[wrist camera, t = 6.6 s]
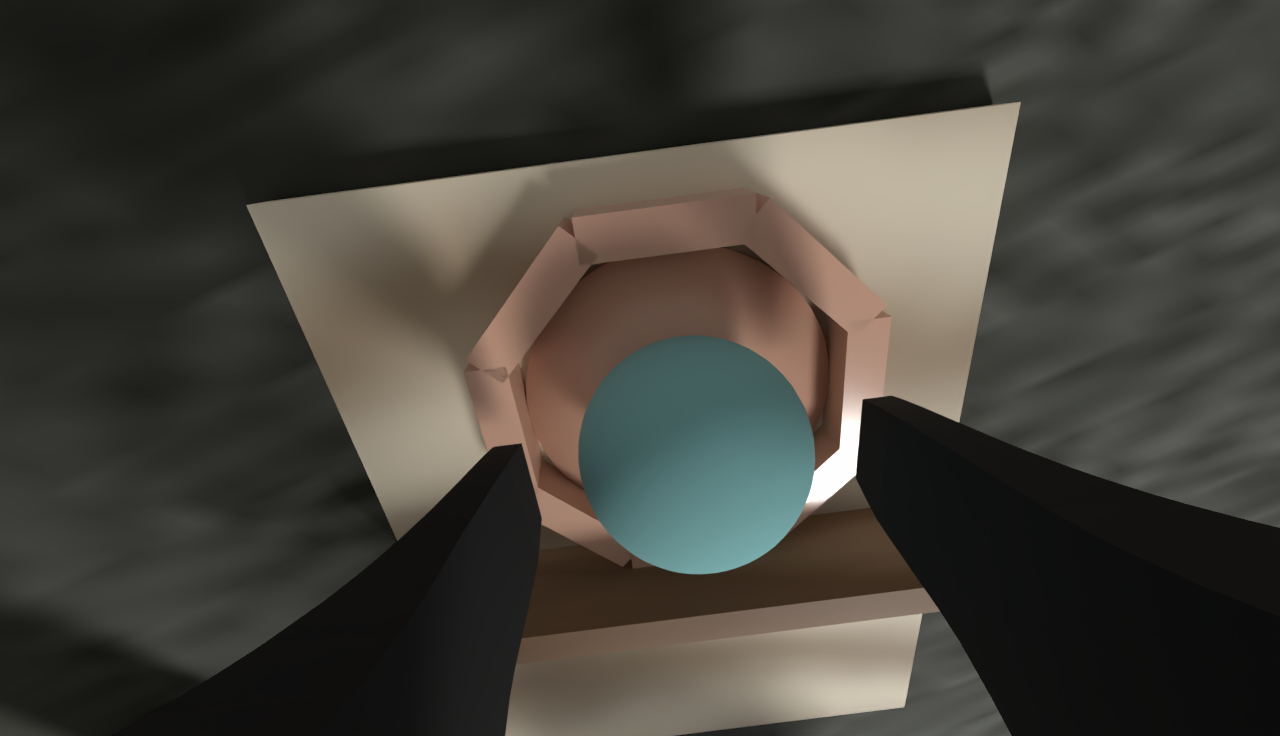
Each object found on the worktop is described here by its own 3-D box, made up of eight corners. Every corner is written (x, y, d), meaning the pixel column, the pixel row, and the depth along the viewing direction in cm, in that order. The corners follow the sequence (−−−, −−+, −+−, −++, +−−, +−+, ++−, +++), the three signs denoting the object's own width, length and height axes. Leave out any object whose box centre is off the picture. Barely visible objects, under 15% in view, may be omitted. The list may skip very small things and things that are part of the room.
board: (894, 687, 21) (949, 796, 17) (498, 736, 21) (476, 854, 17) (994, 104, 11) (1161, 89, 8) (269, 200, 11) (121, 228, 8)
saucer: (849, 510, 15) (867, 539, 14) (534, 550, 15) (528, 582, 14) (878, 169, 11) (907, 173, 10) (440, 227, 11) (421, 237, 10)
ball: (772, 459, 14) (852, 612, 9) (599, 484, 14) (596, 648, 9) (770, 291, 12) (872, 384, 7) (566, 320, 12) (542, 431, 7)
